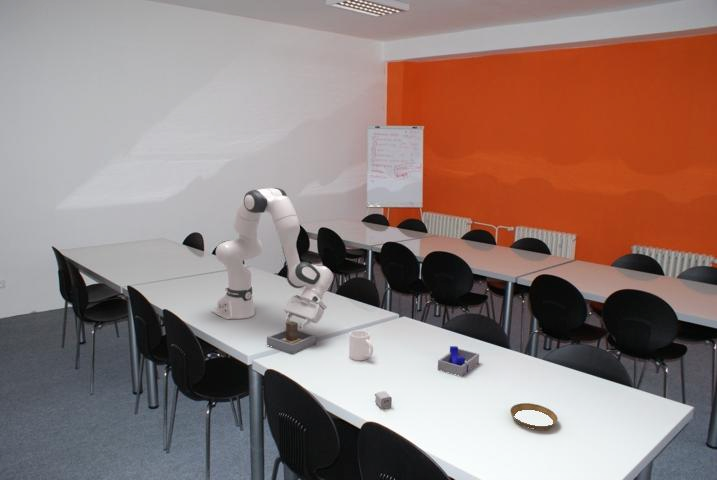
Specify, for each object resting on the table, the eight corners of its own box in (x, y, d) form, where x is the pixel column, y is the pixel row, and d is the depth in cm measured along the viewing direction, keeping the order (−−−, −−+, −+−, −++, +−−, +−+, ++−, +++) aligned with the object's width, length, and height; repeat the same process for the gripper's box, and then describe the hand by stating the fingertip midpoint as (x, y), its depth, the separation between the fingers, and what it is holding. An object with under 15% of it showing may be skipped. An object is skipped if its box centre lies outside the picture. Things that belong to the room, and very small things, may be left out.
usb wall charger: (380, 409, 181) (381, 398, 180) (372, 400, 187) (372, 389, 186) (391, 407, 182) (391, 396, 182) (382, 398, 189) (382, 387, 188)
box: (267, 345, 233) (266, 336, 232) (290, 336, 245) (290, 327, 244) (292, 354, 224) (292, 345, 224) (315, 343, 237) (315, 335, 236)
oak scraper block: (281, 342, 234) (281, 322, 233) (292, 339, 239) (292, 319, 237) (291, 346, 231) (291, 326, 229) (301, 342, 235) (301, 322, 233)
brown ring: (546, 410, 183) (547, 403, 183) (564, 433, 169) (565, 426, 168) (504, 410, 183) (504, 402, 182) (518, 433, 168) (518, 426, 168)
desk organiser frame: (437, 369, 213) (438, 360, 212) (455, 356, 226) (456, 347, 226) (461, 376, 207) (461, 367, 206) (478, 363, 221) (479, 354, 220)
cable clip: (467, 372, 211) (468, 358, 210) (456, 372, 211) (457, 358, 210) (459, 359, 223) (460, 346, 222) (449, 359, 223) (450, 346, 221)
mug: (379, 360, 221) (380, 336, 219) (364, 365, 215) (365, 341, 213) (359, 351, 229) (360, 328, 227) (345, 356, 224) (345, 333, 222)
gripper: (290, 290, 244) (274, 316, 239) (322, 300, 231) (305, 327, 226) (297, 298, 248) (281, 323, 243) (329, 308, 235) (313, 334, 230)
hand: (293, 325), depth 234 cm, fingers open, 8 cm apart
